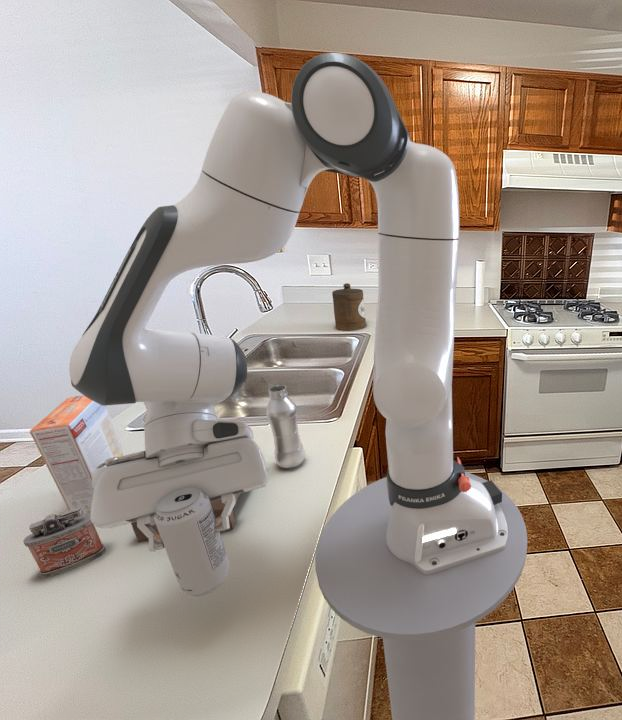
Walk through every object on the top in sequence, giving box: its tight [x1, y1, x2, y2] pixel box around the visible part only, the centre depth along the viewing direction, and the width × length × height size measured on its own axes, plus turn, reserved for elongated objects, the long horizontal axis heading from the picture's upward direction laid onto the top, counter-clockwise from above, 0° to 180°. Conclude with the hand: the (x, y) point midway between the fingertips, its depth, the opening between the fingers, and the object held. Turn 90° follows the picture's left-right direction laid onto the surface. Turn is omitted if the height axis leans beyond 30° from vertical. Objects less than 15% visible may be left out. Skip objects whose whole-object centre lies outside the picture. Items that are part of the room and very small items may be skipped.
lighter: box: [23, 507, 107, 578], centre depth 67 cm, size 8×3×10 cm, turn 131°
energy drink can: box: [154, 486, 231, 597], centre depth 55 cm, size 6×6×15 cm
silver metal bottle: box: [265, 384, 306, 469], centre depth 91 cm, size 6×7×20 cm
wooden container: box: [331, 282, 367, 331], centre depth 198 cm, size 15×15×22 cm
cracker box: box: [29, 395, 126, 516], centre depth 80 cm, size 14×6×21 cm, turn 23°
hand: (191, 539), depth 54 cm, fingers closed on energy drink can, 6 cm apart
